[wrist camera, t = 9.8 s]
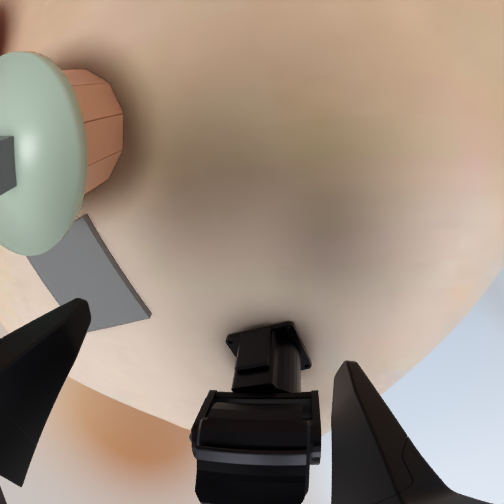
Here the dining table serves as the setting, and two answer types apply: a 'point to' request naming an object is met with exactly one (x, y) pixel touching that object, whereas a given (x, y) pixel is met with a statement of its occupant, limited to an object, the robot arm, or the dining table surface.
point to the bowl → (98, 124)
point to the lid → (38, 154)
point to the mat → (89, 277)
